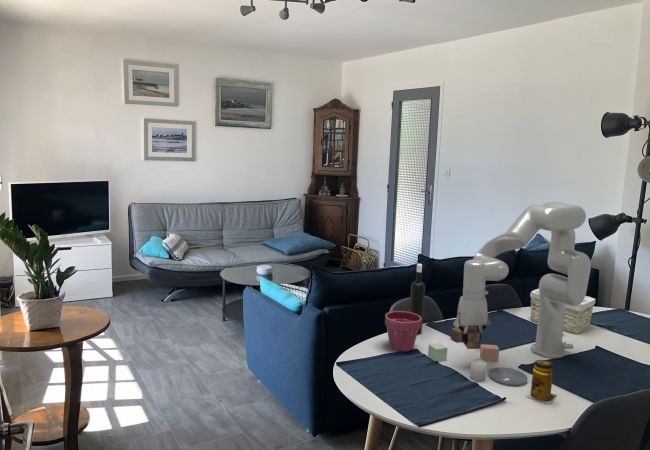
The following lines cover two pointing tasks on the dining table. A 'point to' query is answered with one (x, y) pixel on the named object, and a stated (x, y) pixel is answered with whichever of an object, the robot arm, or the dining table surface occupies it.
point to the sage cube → (437, 352)
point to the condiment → (542, 382)
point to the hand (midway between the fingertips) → (471, 342)
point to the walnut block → (473, 339)
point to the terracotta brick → (489, 352)
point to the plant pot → (402, 329)
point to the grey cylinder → (478, 370)
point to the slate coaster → (507, 376)
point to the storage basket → (567, 313)
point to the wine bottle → (417, 296)
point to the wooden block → (458, 333)
